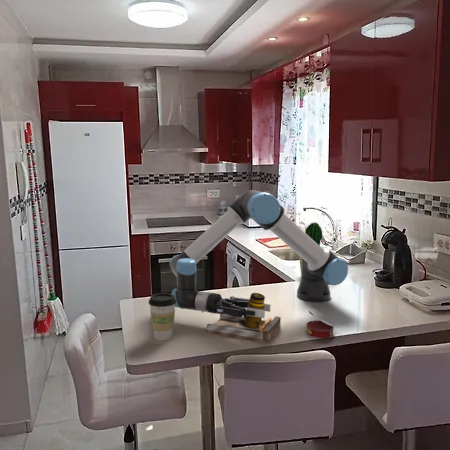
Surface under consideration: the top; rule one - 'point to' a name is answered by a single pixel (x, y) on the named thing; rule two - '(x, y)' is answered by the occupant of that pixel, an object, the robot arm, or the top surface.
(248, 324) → the condiment
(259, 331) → the latch
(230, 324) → the rail board
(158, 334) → the coffee cup
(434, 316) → the top surface
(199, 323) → the top surface
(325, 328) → the canned food
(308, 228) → the potted cactus
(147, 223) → the top surface
